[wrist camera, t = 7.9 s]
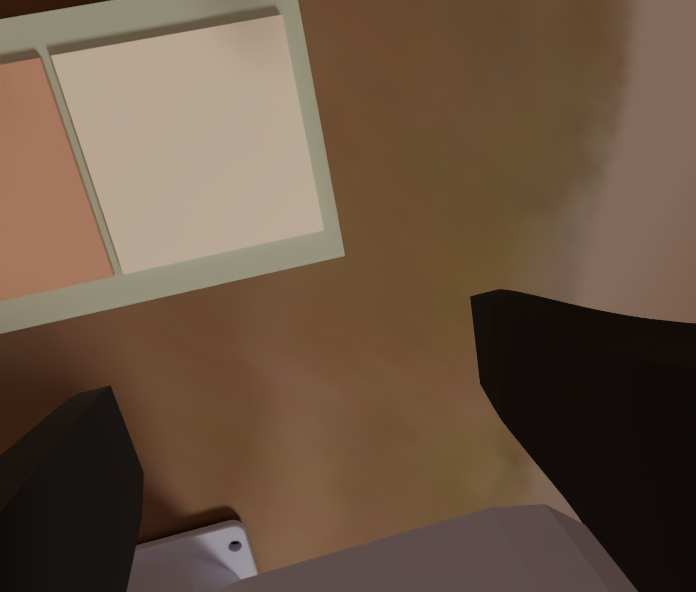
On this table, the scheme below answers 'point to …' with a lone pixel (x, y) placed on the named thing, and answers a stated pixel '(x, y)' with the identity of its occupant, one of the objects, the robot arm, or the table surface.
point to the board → (155, 153)
